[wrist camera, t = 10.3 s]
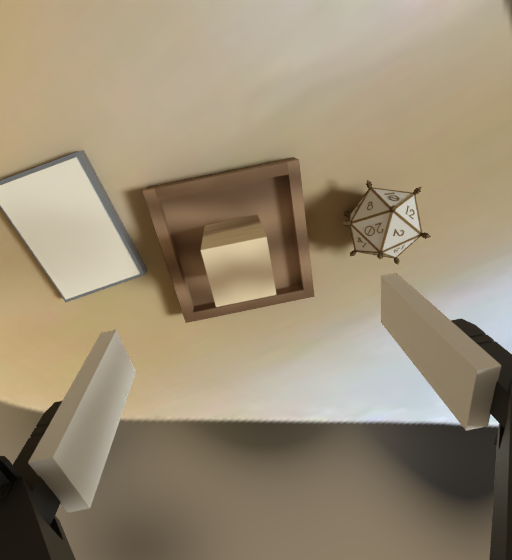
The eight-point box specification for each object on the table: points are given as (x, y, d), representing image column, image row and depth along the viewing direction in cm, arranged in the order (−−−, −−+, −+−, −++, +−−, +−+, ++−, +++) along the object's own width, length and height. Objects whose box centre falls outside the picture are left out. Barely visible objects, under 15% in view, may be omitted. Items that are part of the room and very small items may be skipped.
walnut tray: (147, 186, 35) (142, 191, 32) (293, 157, 35) (298, 159, 33) (187, 312, 42) (185, 322, 39) (309, 287, 42) (314, 296, 40)
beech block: (204, 225, 36) (200, 250, 29) (257, 214, 36) (266, 236, 29) (217, 273, 39) (216, 307, 31) (266, 263, 39) (276, 294, 31)
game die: (351, 222, 43) (341, 284, 37) (340, 167, 36) (326, 231, 31) (428, 217, 39) (429, 285, 33) (431, 154, 32) (433, 225, 27)
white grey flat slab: (-7, 183, 33) (-18, 186, 32) (83, 150, 33) (76, 151, 31) (70, 296, 39) (64, 303, 38) (147, 269, 39) (144, 275, 37)
